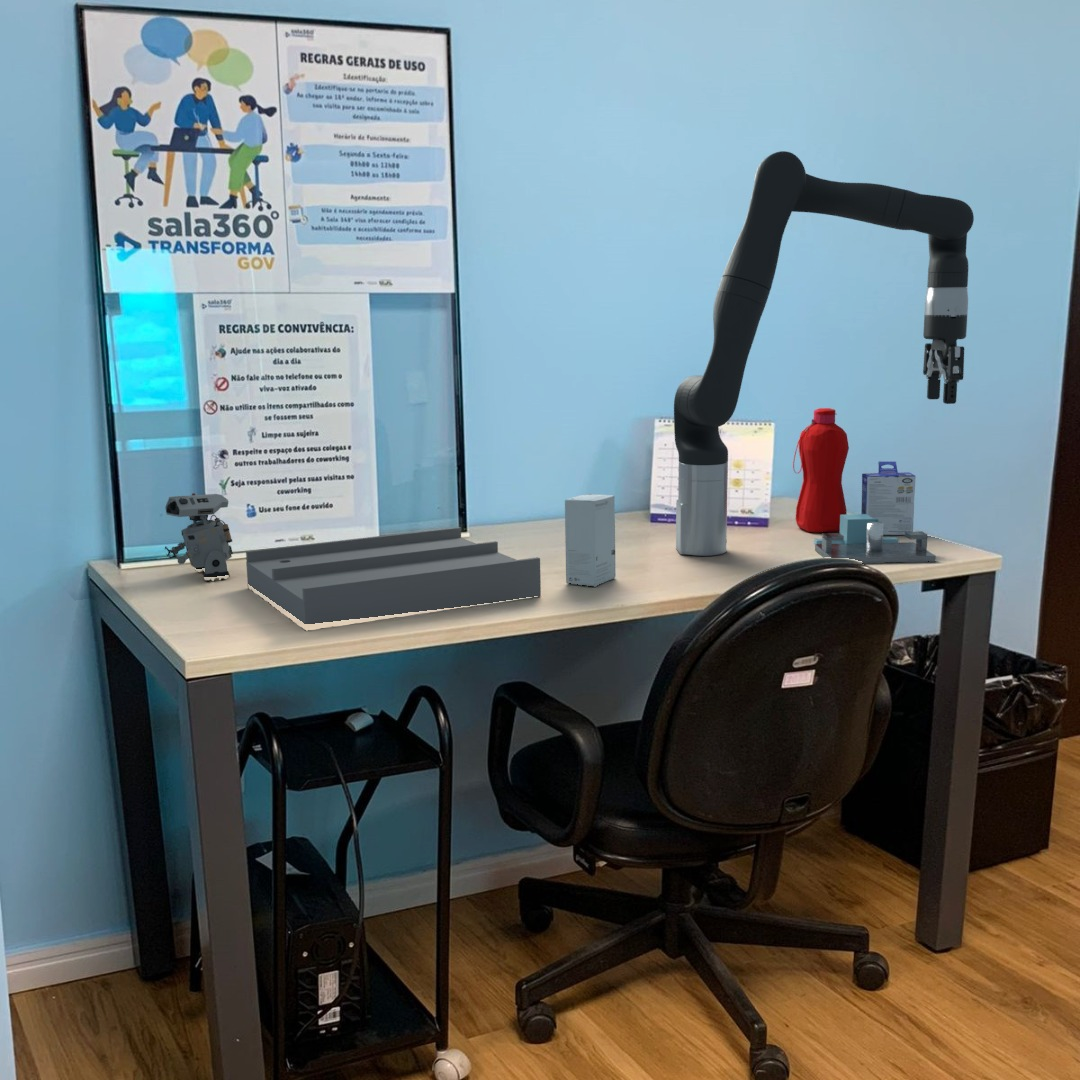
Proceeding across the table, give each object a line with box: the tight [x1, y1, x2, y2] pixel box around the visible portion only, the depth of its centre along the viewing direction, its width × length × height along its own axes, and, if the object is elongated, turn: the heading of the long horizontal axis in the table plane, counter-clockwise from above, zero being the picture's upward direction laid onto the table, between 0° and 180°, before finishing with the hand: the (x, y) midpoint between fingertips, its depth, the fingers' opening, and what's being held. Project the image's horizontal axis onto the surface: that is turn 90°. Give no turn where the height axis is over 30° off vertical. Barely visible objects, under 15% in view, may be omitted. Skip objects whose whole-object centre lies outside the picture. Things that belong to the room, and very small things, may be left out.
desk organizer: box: [245, 526, 542, 624], centre depth 206 cm, size 32×40×7 cm
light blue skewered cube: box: [813, 513, 900, 545], centre depth 240 cm, size 16×5×5 cm, turn 92°
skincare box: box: [564, 493, 616, 588], centre depth 211 cm, size 8×6×15 cm
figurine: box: [164, 492, 234, 577], centre depth 218 cm, size 9×12×15 cm
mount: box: [814, 522, 937, 564], centre depth 229 cm, size 19×12×6 cm, turn 92°
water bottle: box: [792, 407, 850, 534], centre depth 252 cm, size 9×11×25 cm
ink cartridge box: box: [860, 461, 916, 536], centre depth 249 cm, size 10×6×14 cm, turn 89°
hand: (941, 401), depth 229 cm, fingers open, 8 cm apart
